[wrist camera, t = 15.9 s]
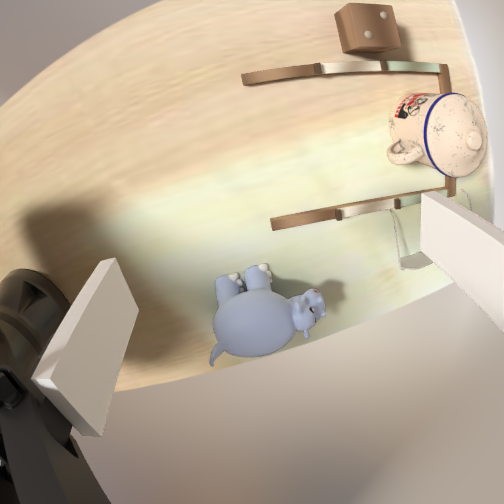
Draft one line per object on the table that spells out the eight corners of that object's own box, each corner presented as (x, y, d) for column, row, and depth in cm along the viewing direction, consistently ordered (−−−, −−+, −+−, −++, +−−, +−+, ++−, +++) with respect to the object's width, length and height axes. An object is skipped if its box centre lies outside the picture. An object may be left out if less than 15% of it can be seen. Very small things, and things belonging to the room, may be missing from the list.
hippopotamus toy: (322, 311, 44) (340, 357, 35) (224, 339, 45) (224, 389, 37) (307, 248, 39) (327, 289, 31) (196, 282, 40) (188, 330, 32)
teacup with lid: (426, 80, 30) (488, 82, 19) (451, 142, 33) (510, 163, 23) (354, 119, 32) (405, 128, 22) (385, 183, 36) (437, 216, 25)
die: (342, 52, 28) (359, 46, 24) (333, 14, 26) (349, 2, 22) (381, 52, 28) (402, 47, 24) (373, 15, 26) (392, 5, 21)
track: (271, 227, 37) (273, 233, 36) (241, 75, 29) (241, 73, 28) (451, 193, 37) (458, 197, 35) (442, 64, 28) (450, 64, 27)
